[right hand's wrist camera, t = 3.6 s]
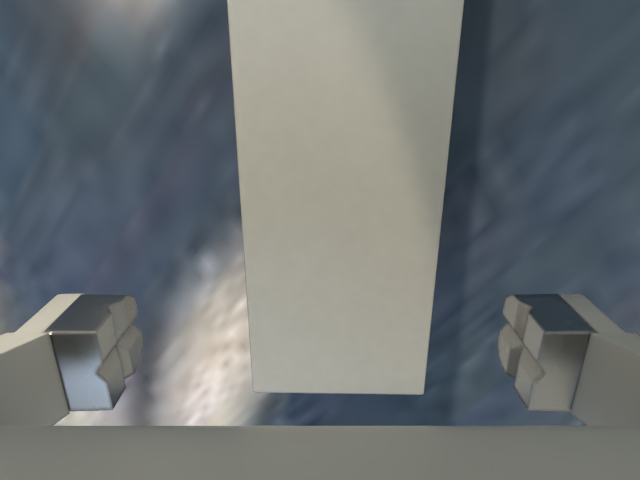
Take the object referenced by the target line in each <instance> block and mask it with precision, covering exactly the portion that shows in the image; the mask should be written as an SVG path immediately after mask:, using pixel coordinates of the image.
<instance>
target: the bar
mask: <svg viewBox="0 0 640 480" xmlns="http://www.w3.org/2000/svg"><path fill="white" fill-rule="evenodd" d="M227 5H228V20H229V35H230V50H231V65H232V80H233V95H234V110H235V125H236V140H237V155H238V171H239V186H240V201H241V216H242V231H243V246H244V261H245V276H246V291H247V306H248V322H249V337H250V352H251V367H252V382H253V391H254V392H273V393H341V394H409V395H422V394H423V393H424V386H425V376H426V366H427V357H428V347H429V337H430V327H431V318H432V308H433V298H434V288H435V279H436V269H437V259H438V250H439V240H440V230H441V220H442V211H443V201H444V191H445V181H446V172H447V162H448V152H449V142H450V133H451V123H452V113H453V104H454V94H455V84H456V74H457V65H458V55H459V45H460V35H461V26H462V16H463V6H464V0H227Z"/></svg>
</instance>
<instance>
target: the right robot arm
mask: <svg viewBox="0 0 640 480" xmlns="http://www.w3.org/2000/svg"><path fill="white" fill-rule="evenodd" d="M137 314H138V312H137V307H136V302H135V299H134V298H133V297H132V296H131V295H112V294H83V293H82V294H59V295H57V296H55V297H54V298H53V299H52V300H51V301H50V302H49V303H48V304H46V305H45V306H44V307H43V308H42V309H41V310H40V311H39V312H37V313H36V314H35V315H34V316H33V317H32V318H31V319H30V320H28V321H27V322H26V323H25V324H24V325H23V326H22V327H21V328H19V329H18V330H17V331H16V332H15V333H5V334H3V335H0V480H640V335H637V334H635V333H625V332H624V331H623V330H622V329H621V328H619V327H618V326H617V325H616V324H615V323H614V322H613V321H612V320H610V319H609V318H608V317H607V316H606V315H605V314H604V313H603V312H601V311H600V310H599V309H598V308H597V307H596V306H595V305H594V304H593V303H591V302H590V301H589V300H588V299H587V298H586V297H585V296H584V295H581V294H577V293H575V294H530V295H510V296H507V298H506V300H505V302H504V306H503V312H502V314H503V315H504V317H505V318H506V320H507V321H508V322H507V323H506V324H505V325H504V326H503V327H502V328H501V329H500V331H499V336H498V343H497V345H498V356H499V360H500V363H501V366H502V368H503V369H504V371H505V373H506V374H508V375H509V376H511V377H513V378H514V379H516V380H515V385H514V388H515V390H516V392H517V393H518V395H519V397H520V398H521V400H522V402H523V403H524V405H525V407H526V408H527V410H542V411H571V412H570V413H571V414H572V415H574V416H575V417H576V418H578V419H579V420H580V421H582V422H583V423H584V424H586V425H587V426H53V425H54V424H56V423H57V422H58V421H60V420H61V419H62V418H64V417H65V416H67V415H68V414H69V411H97V410H113V408H114V407H115V405H116V403H117V402H118V400H119V398H120V397H121V395H122V393H123V392H124V390H125V388H126V385H125V380H124V379H126V378H127V377H129V376H131V375H132V374H134V373H135V371H136V369H137V367H138V366H139V363H140V359H141V355H142V335H141V331H140V329H139V328H138V327H137V326H136V325H135V324H134V323H133V322H132V321H133V320H134V318H135V317H136V315H137Z"/></svg>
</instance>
